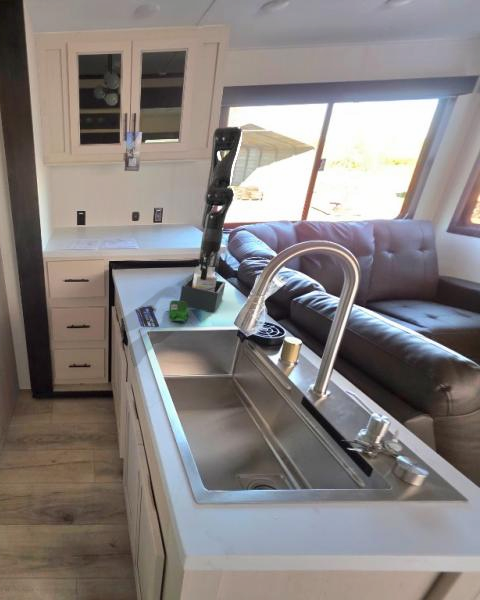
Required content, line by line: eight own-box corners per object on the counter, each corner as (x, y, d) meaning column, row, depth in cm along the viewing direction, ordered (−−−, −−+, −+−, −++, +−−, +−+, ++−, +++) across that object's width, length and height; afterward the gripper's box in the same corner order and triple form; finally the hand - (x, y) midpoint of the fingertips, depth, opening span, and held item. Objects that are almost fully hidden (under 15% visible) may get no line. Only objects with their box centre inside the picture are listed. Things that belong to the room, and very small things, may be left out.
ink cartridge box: (192, 301, 137) (197, 269, 131) (190, 297, 142) (194, 266, 136) (212, 302, 136) (218, 270, 130) (209, 298, 141) (215, 266, 135)
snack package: (168, 324, 120) (169, 312, 118) (168, 307, 134) (170, 296, 132) (187, 327, 119) (189, 315, 116) (186, 310, 132) (188, 298, 130)
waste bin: (189, 293, 149) (192, 275, 146) (221, 300, 142) (225, 281, 138) (179, 304, 137) (181, 285, 134) (214, 312, 130) (217, 293, 126)
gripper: (217, 243, 121) (210, 283, 127) (225, 236, 132) (218, 274, 138) (197, 240, 124) (191, 280, 131) (206, 234, 135) (200, 271, 142)
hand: (205, 277), depth 135 cm, fingers closed on ink cartridge box, 6 cm apart
